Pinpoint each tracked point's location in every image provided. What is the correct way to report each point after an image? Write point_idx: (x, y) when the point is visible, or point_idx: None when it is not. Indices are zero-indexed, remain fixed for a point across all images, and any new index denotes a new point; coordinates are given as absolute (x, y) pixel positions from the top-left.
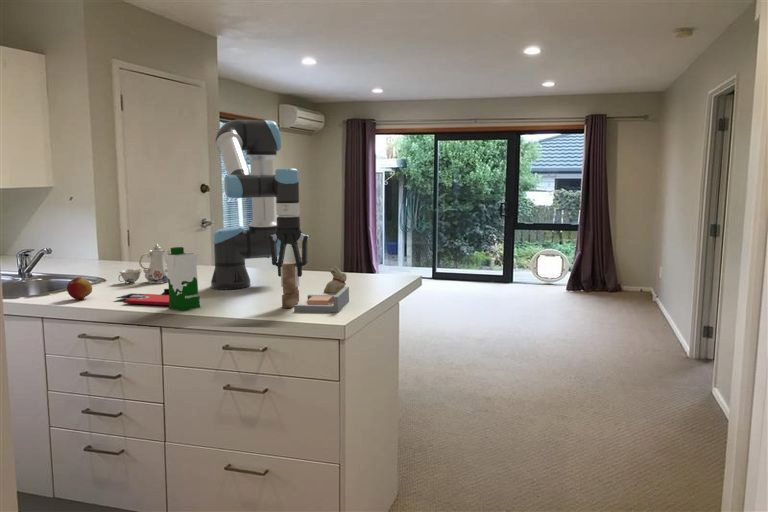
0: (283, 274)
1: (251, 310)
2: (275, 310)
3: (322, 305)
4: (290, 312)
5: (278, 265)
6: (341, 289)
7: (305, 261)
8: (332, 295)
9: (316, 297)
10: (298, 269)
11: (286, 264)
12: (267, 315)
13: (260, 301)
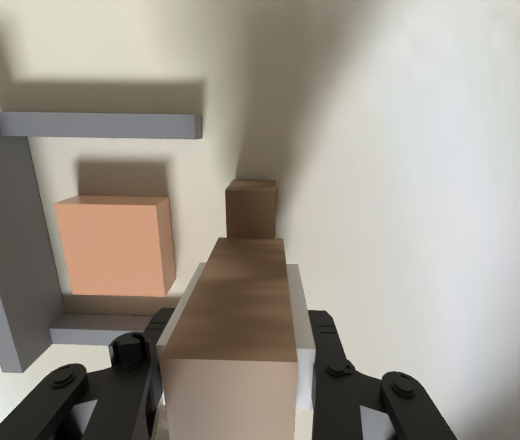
0: (281, 293)
1: (409, 135)
2: (296, 142)
3: (56, 128)
4: (215, 104)
5: (341, 365)
6: (3, 310)
7: (24, 398)
8: (100, 338)
9: (134, 267)
10: (155, 345)
11: (247, 354)
12: (307, 26)
13: (403, 310)
